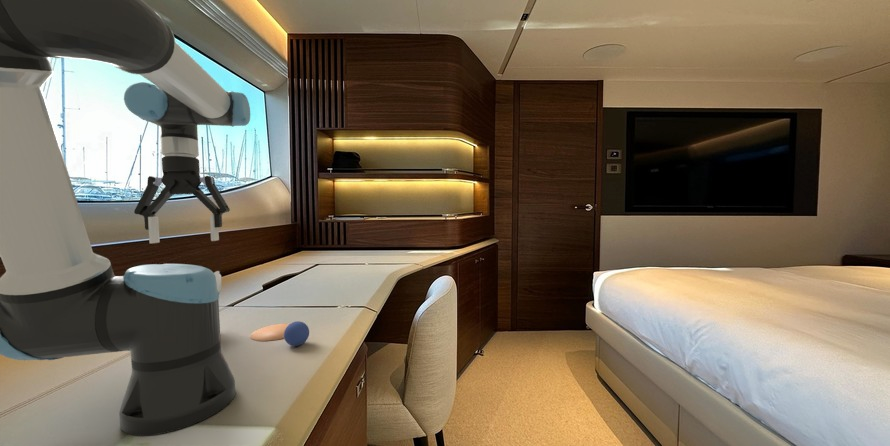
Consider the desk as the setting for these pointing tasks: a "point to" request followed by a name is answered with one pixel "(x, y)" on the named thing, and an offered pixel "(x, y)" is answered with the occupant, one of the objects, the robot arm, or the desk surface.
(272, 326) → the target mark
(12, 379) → the desk surface
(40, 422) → the desk surface
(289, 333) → the ball
